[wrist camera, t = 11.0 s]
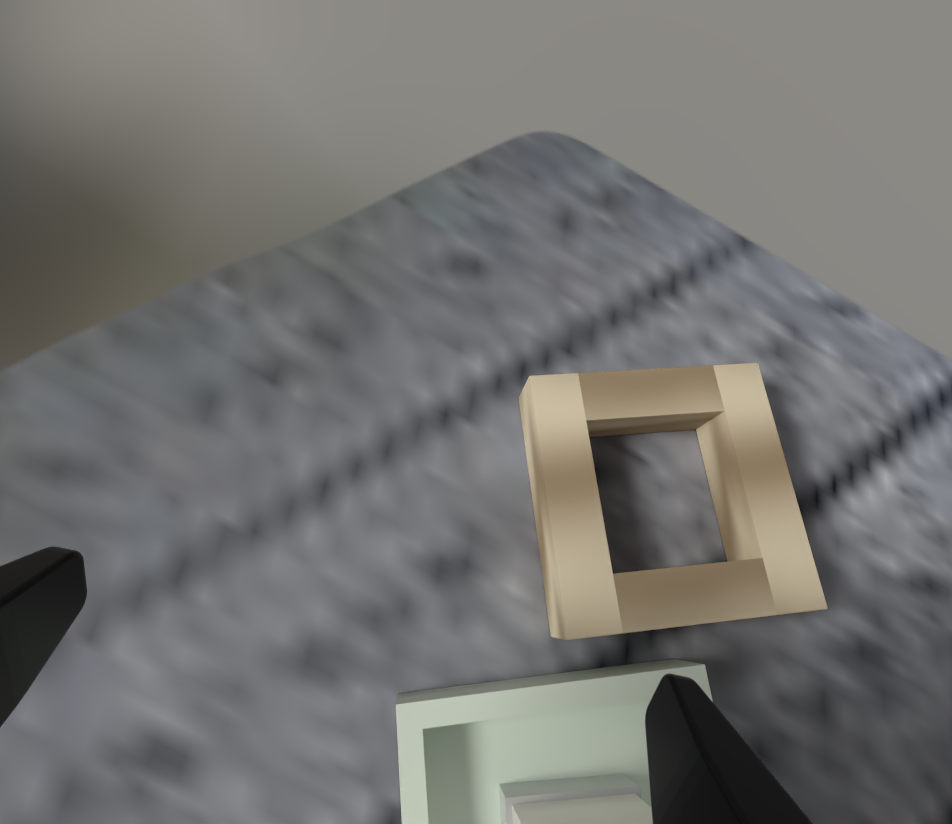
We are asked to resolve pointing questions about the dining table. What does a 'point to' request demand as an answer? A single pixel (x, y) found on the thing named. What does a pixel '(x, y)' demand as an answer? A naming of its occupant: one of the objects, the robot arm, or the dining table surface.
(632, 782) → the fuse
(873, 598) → the dining table surface
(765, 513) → the collar block
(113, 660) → the dining table surface
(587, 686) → the tray
